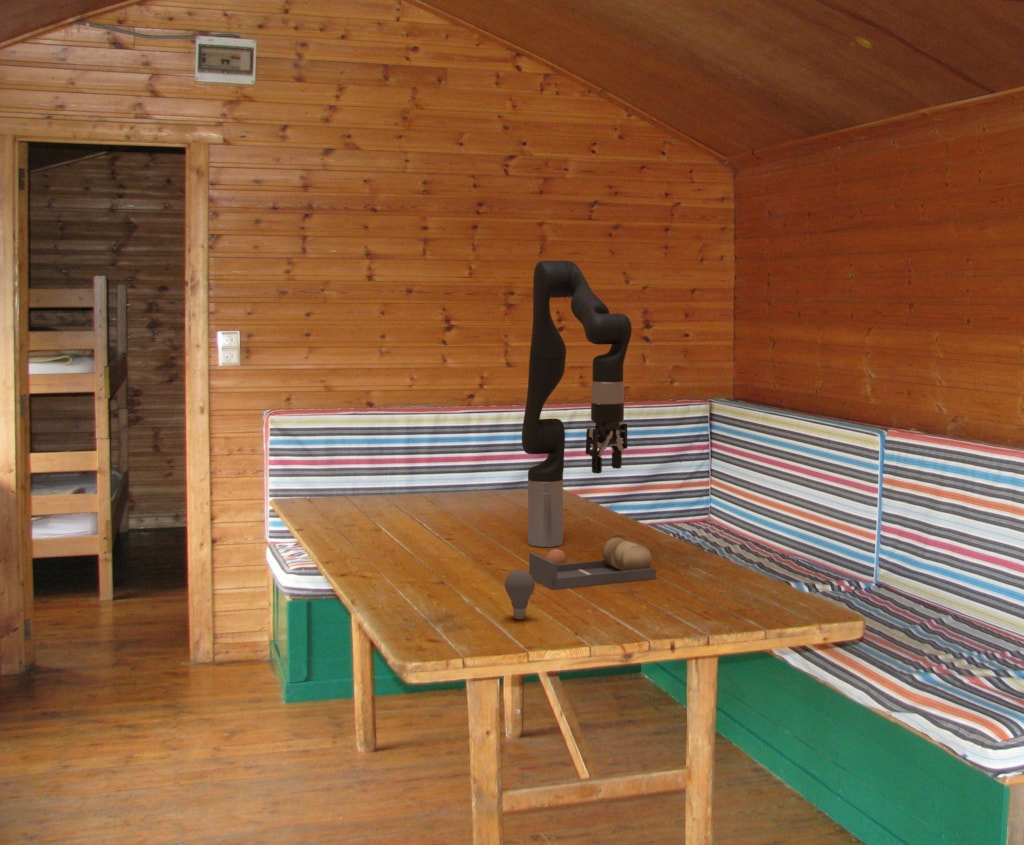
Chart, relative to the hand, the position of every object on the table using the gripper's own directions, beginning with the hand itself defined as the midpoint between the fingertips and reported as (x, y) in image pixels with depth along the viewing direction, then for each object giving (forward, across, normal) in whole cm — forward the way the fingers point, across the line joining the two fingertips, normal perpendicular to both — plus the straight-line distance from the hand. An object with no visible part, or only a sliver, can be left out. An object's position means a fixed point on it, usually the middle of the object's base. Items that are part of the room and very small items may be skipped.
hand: (606, 470), depth 270 cm
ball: (+25, +2, -13) cm, 28 cm away
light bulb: (+24, +43, +7) cm, 50 cm away
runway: (+25, +4, -1) cm, 25 cm away
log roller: (+25, -3, +4) cm, 25 cm away
